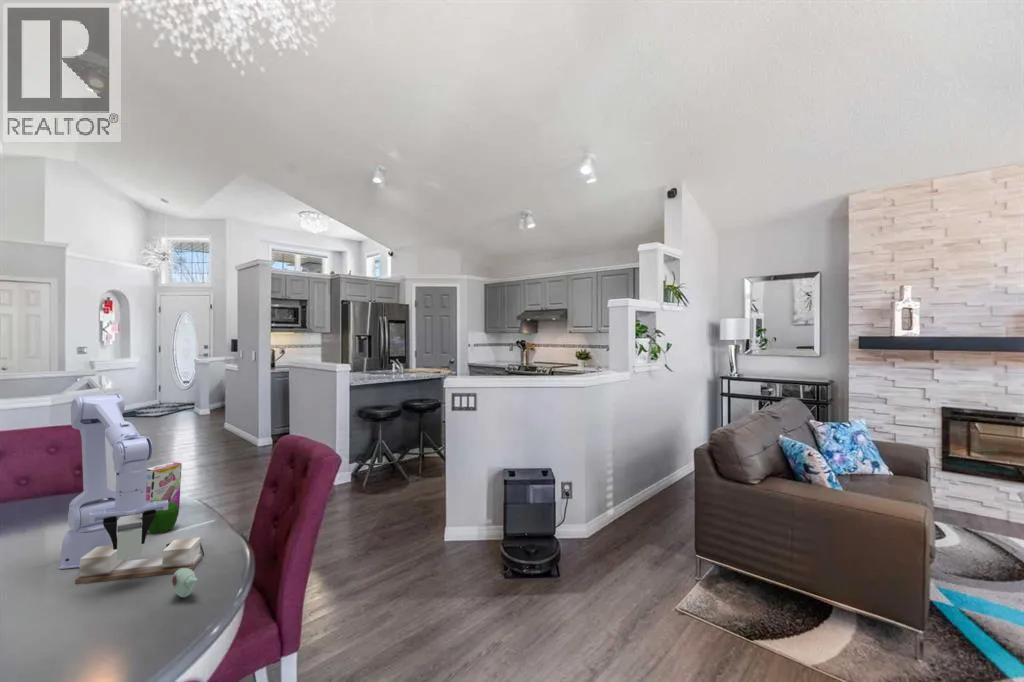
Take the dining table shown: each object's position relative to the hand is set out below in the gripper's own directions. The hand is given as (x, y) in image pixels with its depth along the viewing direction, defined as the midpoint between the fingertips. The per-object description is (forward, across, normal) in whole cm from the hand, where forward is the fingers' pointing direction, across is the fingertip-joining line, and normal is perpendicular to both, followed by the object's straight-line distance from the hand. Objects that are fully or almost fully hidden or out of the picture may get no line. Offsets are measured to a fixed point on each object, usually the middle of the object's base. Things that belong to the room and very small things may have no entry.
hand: (129, 545), depth 109 cm
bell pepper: (+10, +8, +35) cm, 38 cm away
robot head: (+10, +10, -16) cm, 21 cm away
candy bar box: (+10, +9, +54) cm, 55 cm away
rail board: (+9, +3, +7) cm, 12 cm away
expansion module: (+2, 0, 0) cm, 2 cm away
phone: (+10, +12, +13) cm, 20 cm away
